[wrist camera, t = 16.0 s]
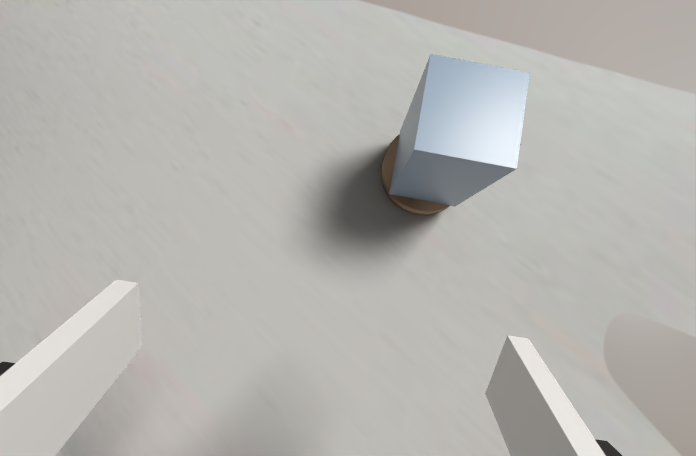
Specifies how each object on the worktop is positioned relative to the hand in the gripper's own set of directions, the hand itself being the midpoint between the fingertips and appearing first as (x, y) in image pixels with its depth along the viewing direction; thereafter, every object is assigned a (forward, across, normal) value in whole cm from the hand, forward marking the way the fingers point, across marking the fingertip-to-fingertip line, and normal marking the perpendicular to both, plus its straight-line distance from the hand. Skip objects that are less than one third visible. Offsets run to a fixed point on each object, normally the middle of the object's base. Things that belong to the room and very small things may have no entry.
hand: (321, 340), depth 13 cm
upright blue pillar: (+23, +7, +2) cm, 24 cm away
